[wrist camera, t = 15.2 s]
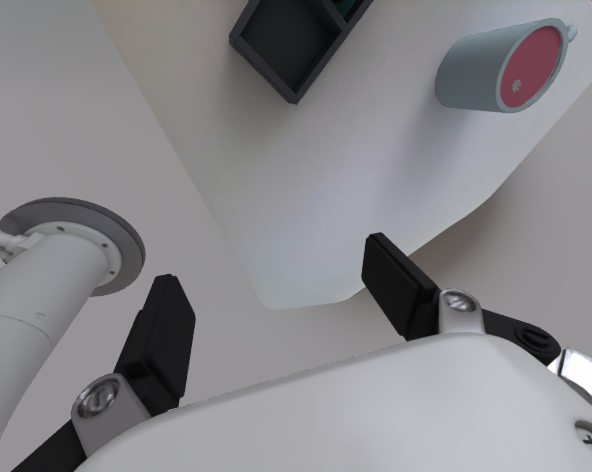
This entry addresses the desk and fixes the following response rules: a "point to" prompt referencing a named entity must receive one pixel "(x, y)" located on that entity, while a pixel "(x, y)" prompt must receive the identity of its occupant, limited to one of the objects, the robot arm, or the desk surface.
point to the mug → (504, 66)
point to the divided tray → (293, 39)
